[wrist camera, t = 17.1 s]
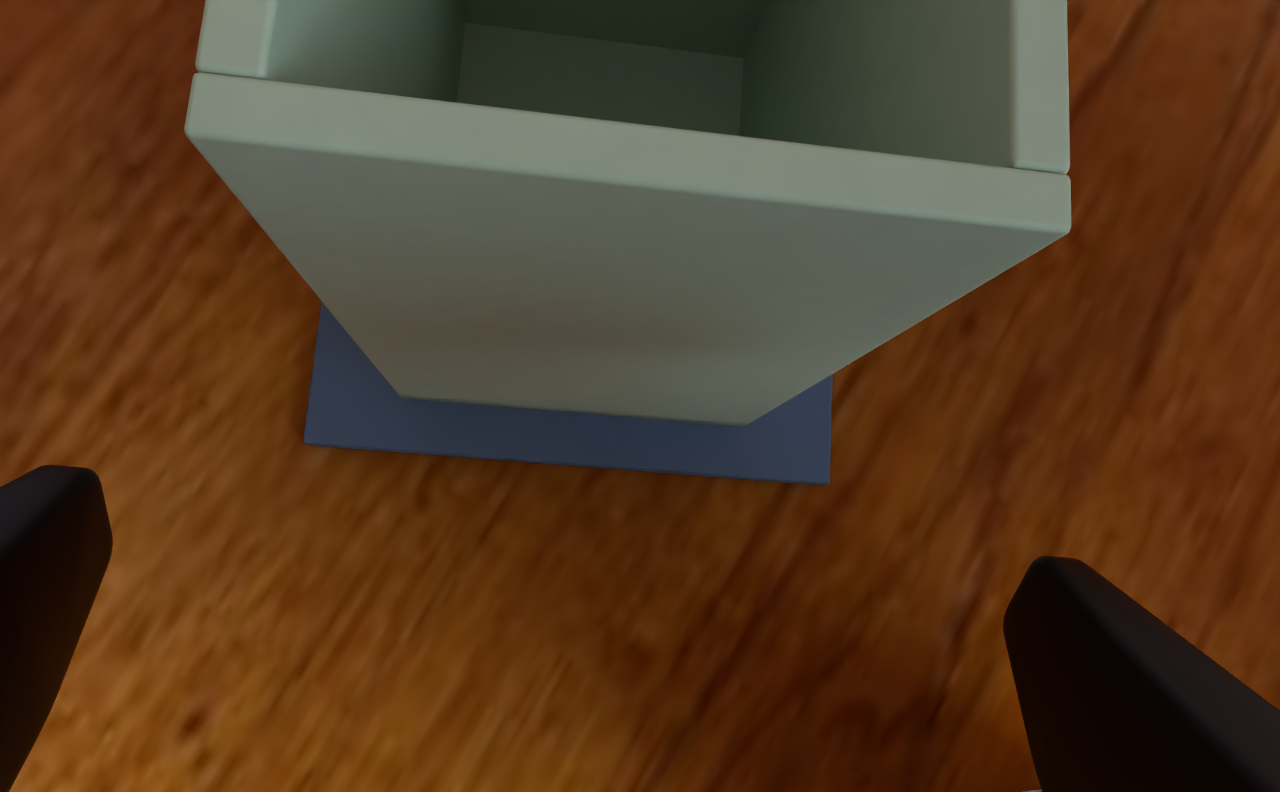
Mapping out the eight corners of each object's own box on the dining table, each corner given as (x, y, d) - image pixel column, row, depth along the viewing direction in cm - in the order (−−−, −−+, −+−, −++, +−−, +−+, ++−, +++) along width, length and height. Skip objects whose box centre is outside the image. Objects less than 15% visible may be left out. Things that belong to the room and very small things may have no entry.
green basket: (744, 427, 18) (1075, 233, 7) (399, 398, 17) (179, 133, 6) (762, 51, 19) (1058, -588, 8) (444, 11, 19) (326, -742, 8)
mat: (823, 485, 18) (830, 484, 18) (307, 445, 17) (301, 442, 17) (837, 28, 20) (843, 18, 20) (370, -34, 19) (367, -46, 19)
